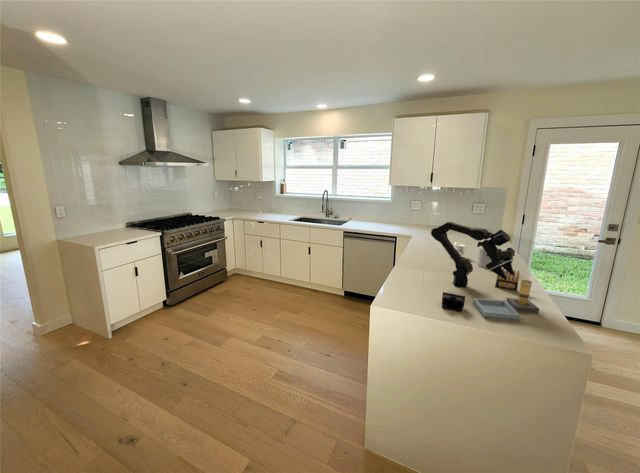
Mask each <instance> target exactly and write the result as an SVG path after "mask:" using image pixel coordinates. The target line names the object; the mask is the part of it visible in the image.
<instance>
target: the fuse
mask: <svg viewBox="0 0 640 473" xmlns="http://www.w3.org/2000/svg"><path fill="white" fill-rule="evenodd" d="M532 285H533V282H532V281H531V280H529V279H528V280H527V279H521V281H520V286H519V291H518V296H517V299H518V302H517V303H518V304H519V305H525V306H527V304H528V300H530V299H529V298H530V293H531V288H532Z"/></svg>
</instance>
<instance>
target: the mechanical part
mask: <svg viewBox="0 0 640 473" xmlns="http://www.w3.org/2000/svg"><path fill="white" fill-rule="evenodd" d="M453 246H454V248H455V249H456V250H457V252H458V253H459V254H460V256H461V257H462V256H464V255H465V254H466V249H467V246H466V245H465V244H462V243H461V242H460V241H455V242H454V243H453Z"/></svg>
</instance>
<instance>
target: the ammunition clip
mask: <svg viewBox="0 0 640 473" xmlns="http://www.w3.org/2000/svg"><path fill="white" fill-rule="evenodd" d="M502 270H503V271H504V273H505V275H506V278H507V279H503V278H502V277H500V276H499V275H497V274H496V278H495V279H496V280H495V286H494V288H498V289H503V290H507V291H508V290H509V291H512V292H518V286H519V280H520V270H518V271H517V272H516V270H515V269H513V271H514V275H511V274H510V273H509V272H507V271H506V270H505V269H504V268H503V267H502Z"/></svg>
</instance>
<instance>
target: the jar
mask: <svg viewBox="0 0 640 473" xmlns="http://www.w3.org/2000/svg"><path fill="white" fill-rule="evenodd" d="M484 240H485V239H484ZM484 240H482V241H484ZM486 255H487V253H486V252H485V250H484V249H483V247H482V246H480V247H479V250H478V258H477V265H478V267H479V268H481V269H483V268H484V269H487V268H486V264H488V263H490V262H491V259H490V258H489V256H488V257H487V256H486Z"/></svg>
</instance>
